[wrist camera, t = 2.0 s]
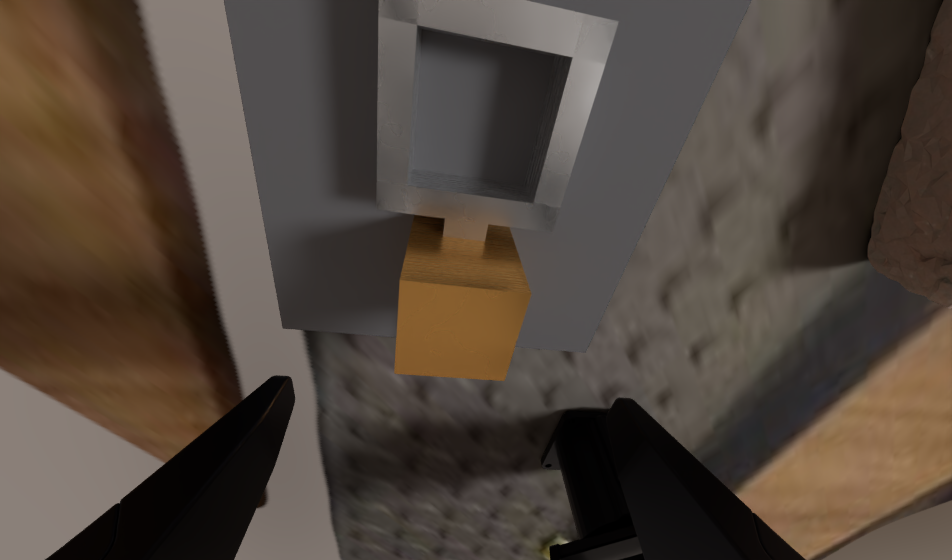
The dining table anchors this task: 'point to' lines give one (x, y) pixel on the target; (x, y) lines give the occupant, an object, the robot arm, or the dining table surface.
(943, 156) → the brick
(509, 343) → the grey and orange frame
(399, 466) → the dining table surface
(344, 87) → the plate
